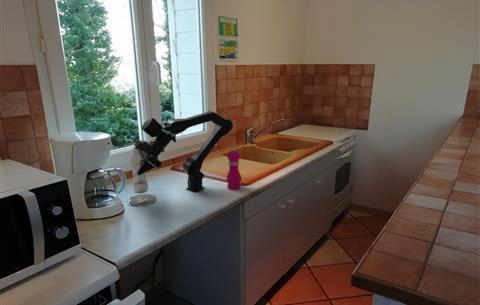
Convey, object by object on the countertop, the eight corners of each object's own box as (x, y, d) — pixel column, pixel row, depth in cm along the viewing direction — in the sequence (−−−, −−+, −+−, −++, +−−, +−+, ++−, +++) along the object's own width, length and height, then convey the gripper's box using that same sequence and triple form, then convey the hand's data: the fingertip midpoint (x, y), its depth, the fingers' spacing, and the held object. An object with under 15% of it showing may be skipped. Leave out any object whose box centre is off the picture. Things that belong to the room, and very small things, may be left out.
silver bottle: (151, 190, 141) (148, 146, 136) (143, 196, 135) (139, 150, 129) (139, 188, 143) (135, 145, 137) (130, 194, 136) (125, 149, 131)
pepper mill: (233, 183, 159) (233, 145, 154) (244, 187, 155) (244, 147, 149) (223, 187, 154) (222, 147, 148) (234, 191, 149) (234, 150, 144)
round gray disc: (163, 198, 141) (163, 198, 141) (139, 209, 131) (139, 209, 131) (143, 192, 148) (143, 191, 148) (119, 201, 138) (119, 201, 138)
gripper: (139, 128, 141) (116, 156, 139) (151, 136, 126) (125, 168, 123) (158, 143, 147) (136, 170, 145) (172, 153, 132) (147, 183, 129)
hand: (136, 172), depth 135 cm, fingers closed on silver bottle, 6 cm apart
